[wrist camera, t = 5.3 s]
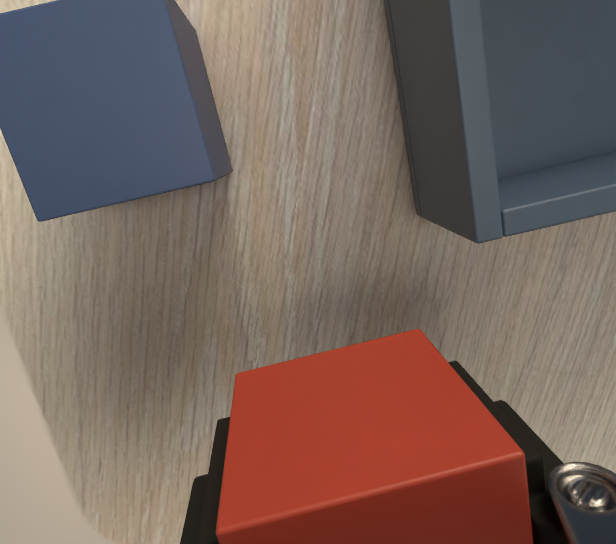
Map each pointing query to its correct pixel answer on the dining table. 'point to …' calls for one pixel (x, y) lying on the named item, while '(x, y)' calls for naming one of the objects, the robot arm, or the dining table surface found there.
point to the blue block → (106, 103)
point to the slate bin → (507, 111)
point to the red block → (369, 453)
